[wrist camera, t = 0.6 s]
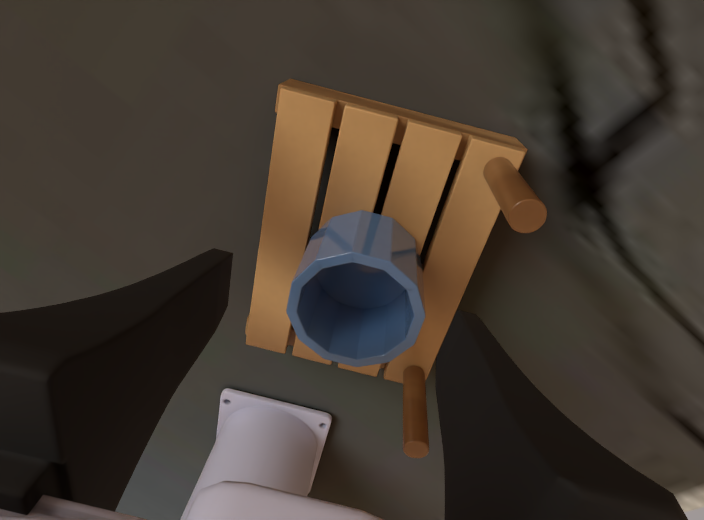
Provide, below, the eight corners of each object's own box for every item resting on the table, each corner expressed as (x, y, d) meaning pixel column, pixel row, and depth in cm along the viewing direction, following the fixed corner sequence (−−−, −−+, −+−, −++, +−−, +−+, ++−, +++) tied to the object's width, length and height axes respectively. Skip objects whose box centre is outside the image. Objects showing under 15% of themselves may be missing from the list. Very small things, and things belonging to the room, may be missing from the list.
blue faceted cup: (401, 320, 22) (401, 379, 19) (299, 294, 22) (278, 348, 19) (435, 228, 20) (442, 275, 16) (319, 198, 19) (299, 238, 16)
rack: (424, 354, 27) (432, 469, 20) (256, 312, 27) (204, 412, 20) (516, 137, 20) (575, 196, 13) (290, 78, 20) (229, 106, 13)
